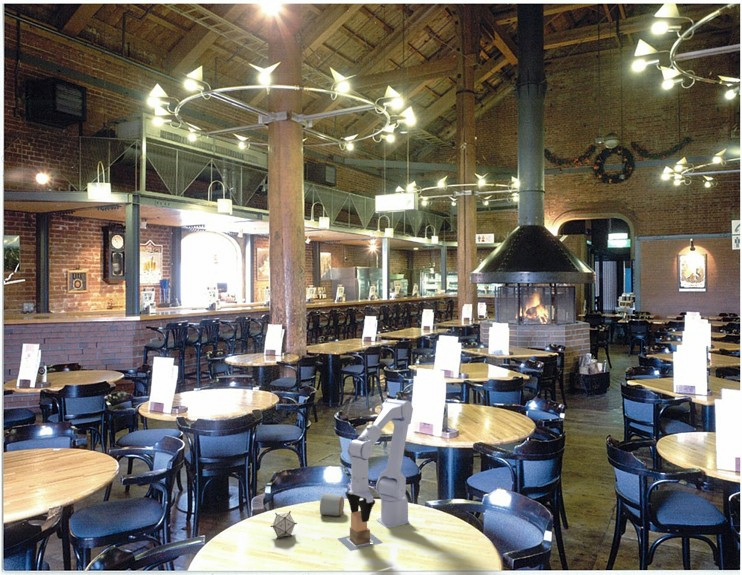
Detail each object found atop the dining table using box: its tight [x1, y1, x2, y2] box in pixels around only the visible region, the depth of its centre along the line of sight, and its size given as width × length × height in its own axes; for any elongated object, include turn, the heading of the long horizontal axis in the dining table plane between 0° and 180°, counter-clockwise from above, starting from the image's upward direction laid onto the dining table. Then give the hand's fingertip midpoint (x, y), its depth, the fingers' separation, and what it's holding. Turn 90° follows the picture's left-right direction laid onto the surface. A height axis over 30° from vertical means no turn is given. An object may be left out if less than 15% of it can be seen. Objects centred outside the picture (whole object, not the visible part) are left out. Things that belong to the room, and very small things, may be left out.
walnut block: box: [349, 526, 371, 545], centre depth 183 cm, size 5×5×4 cm
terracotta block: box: [350, 510, 368, 532], centre depth 182 cm, size 4×4×5 cm
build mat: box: [337, 532, 384, 552], centre depth 182 cm, size 12×10×1 cm
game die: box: [269, 510, 298, 540], centre depth 186 cm, size 9×8×10 cm
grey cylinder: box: [319, 492, 345, 517], centre depth 207 cm, size 11×8×8 cm
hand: (359, 517), depth 183 cm, fingers open, 7 cm apart
